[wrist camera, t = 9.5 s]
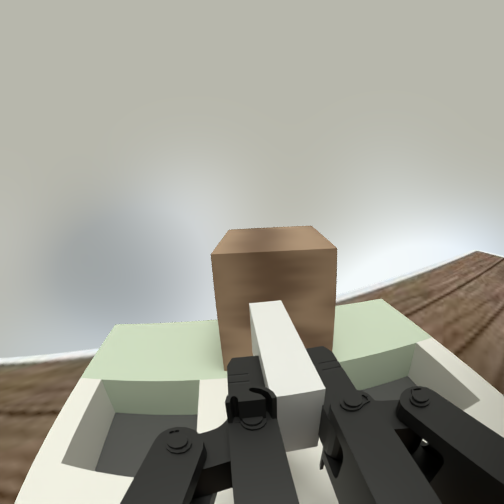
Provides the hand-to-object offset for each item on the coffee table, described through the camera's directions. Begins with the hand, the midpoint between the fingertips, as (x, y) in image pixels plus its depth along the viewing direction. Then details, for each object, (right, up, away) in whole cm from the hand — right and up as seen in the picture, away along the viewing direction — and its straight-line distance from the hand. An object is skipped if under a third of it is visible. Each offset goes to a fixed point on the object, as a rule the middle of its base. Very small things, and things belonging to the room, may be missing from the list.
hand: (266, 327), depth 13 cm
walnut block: (+1, -4, +11) cm, 12 cm away
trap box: (+1, -10, +5) cm, 11 cm away
